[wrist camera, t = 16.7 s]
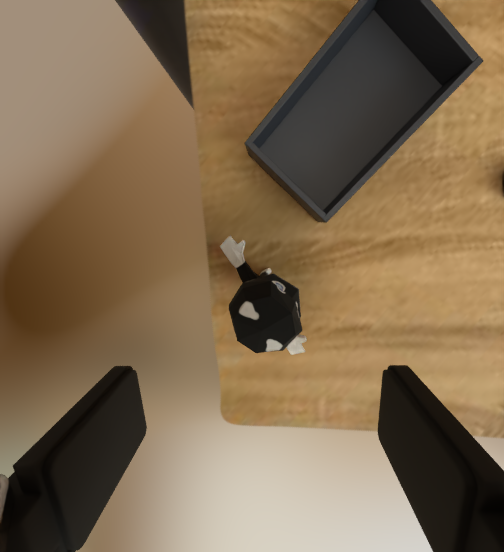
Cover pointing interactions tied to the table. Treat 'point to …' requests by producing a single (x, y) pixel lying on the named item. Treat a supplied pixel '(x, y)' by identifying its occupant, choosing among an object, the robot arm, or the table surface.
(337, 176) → the dark grey open box
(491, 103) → the table surface
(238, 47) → the table surface
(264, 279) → the toy
